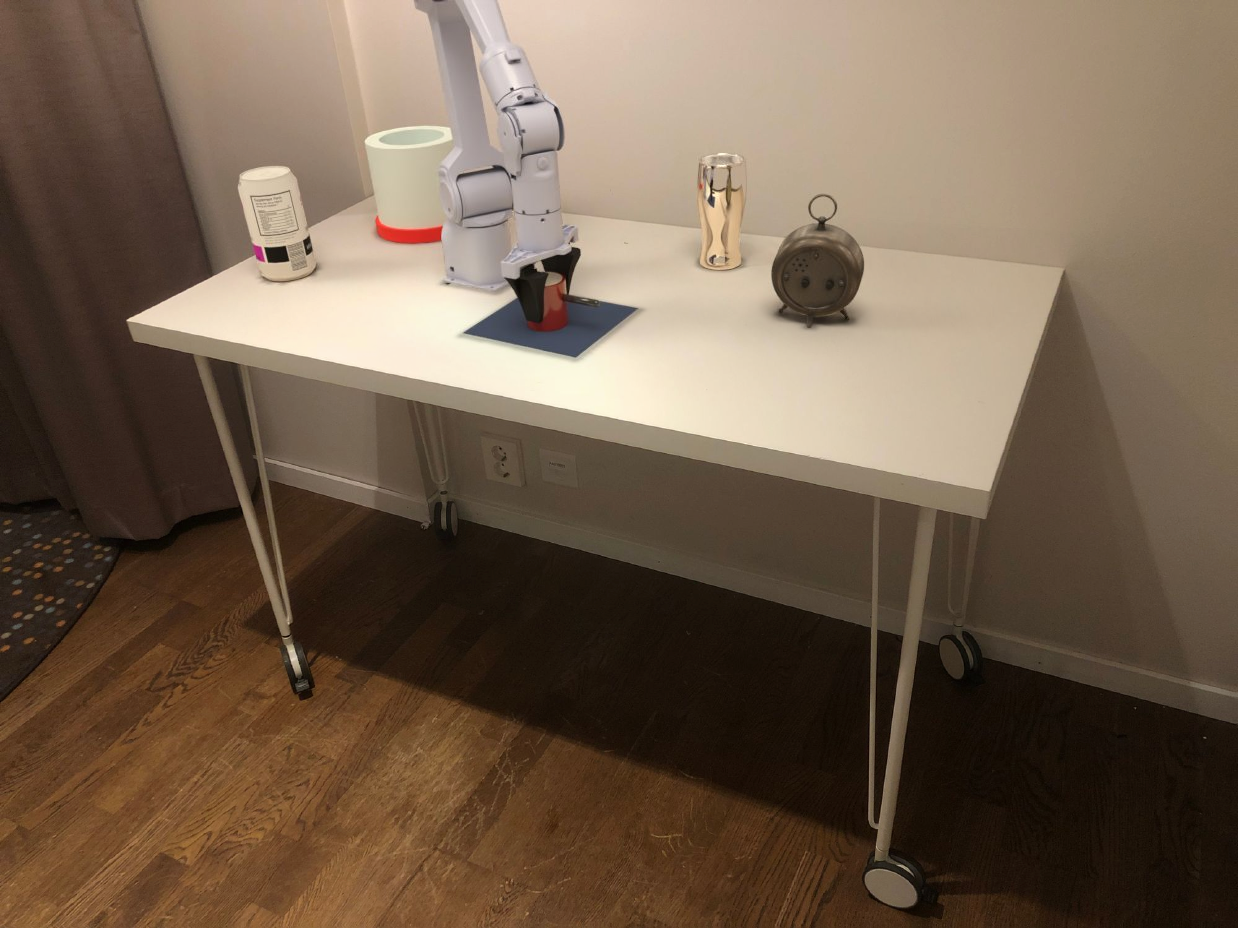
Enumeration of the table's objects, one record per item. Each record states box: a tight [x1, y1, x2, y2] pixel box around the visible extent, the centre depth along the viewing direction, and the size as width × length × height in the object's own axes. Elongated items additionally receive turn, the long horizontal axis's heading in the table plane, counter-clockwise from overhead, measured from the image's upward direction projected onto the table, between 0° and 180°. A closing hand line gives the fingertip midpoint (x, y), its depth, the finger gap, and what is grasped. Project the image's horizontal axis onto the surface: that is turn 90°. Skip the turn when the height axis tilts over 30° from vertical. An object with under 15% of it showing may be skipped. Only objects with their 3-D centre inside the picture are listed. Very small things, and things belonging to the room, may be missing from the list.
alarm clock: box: [770, 193, 865, 328], centre depth 114 cm, size 11×5×16 cm, turn 71°
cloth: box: [462, 297, 639, 359], centre depth 122 cm, size 17×16×1 cm
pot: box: [527, 271, 600, 332], centre depth 118 cm, size 11×5×6 cm, turn 61°
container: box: [364, 125, 465, 244], centre depth 152 cm, size 16×16×15 cm
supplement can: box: [237, 165, 317, 282], centre depth 137 cm, size 8×8×15 cm
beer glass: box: [696, 152, 748, 271], centre depth 133 cm, size 7×7×15 cm
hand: (546, 312), depth 120 cm, fingers closed on pot, 5 cm apart
